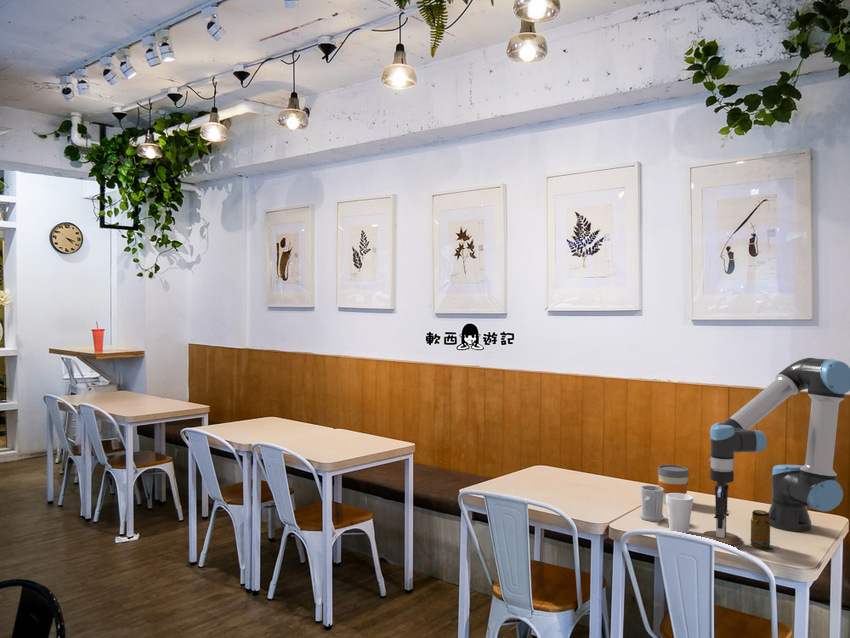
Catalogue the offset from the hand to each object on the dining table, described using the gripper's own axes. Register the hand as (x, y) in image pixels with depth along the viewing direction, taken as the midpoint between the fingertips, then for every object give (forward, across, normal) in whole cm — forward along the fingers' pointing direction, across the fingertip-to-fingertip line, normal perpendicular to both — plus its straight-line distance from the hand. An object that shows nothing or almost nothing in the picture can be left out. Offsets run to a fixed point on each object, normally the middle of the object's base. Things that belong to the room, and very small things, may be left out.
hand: (721, 535), depth 238 cm
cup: (+3, -14, -27) cm, 31 cm away
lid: (+2, 0, 0) cm, 2 cm away
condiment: (+3, -3, +13) cm, 14 cm away
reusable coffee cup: (+3, -42, -25) cm, 49 cm away
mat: (+2, 0, 0) cm, 2 cm away
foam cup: (+3, -4, -15) cm, 16 cm away
